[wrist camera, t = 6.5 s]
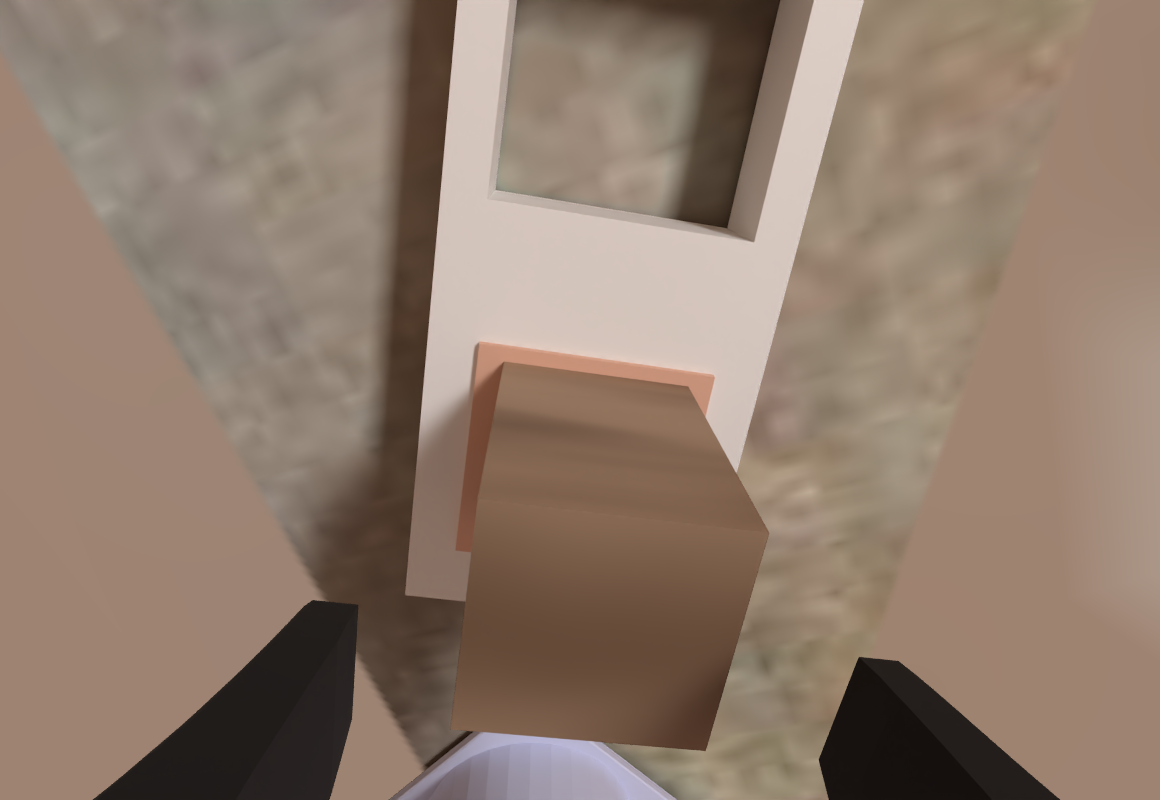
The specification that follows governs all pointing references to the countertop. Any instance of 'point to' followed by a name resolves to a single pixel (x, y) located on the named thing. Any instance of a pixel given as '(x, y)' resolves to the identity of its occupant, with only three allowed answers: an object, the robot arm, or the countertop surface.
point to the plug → (603, 564)
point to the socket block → (604, 271)
